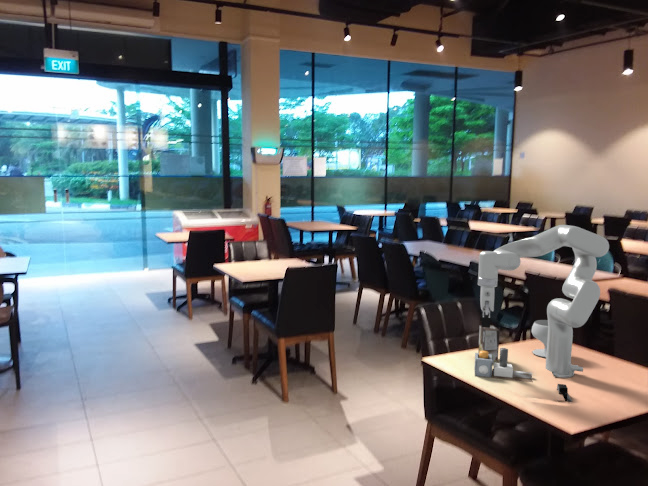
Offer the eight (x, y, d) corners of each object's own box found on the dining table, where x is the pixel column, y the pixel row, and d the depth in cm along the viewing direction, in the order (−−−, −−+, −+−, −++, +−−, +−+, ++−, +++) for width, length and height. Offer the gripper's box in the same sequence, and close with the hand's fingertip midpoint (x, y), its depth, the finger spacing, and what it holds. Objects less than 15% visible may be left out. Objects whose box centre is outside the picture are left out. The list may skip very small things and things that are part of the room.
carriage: (511, 372, 213) (512, 347, 212) (512, 378, 207) (514, 352, 206) (493, 370, 215) (494, 346, 213) (494, 376, 209) (495, 350, 208)
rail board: (529, 377, 213) (530, 369, 212) (532, 385, 204) (533, 377, 204) (474, 371, 218) (474, 363, 218) (474, 379, 210) (475, 371, 209)
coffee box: (498, 366, 225) (500, 330, 223) (483, 366, 225) (485, 330, 223) (491, 359, 234) (493, 324, 232) (477, 359, 234) (479, 324, 232)
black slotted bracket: (575, 405, 188) (576, 393, 187) (553, 403, 190) (554, 391, 189) (568, 392, 200) (569, 380, 199) (548, 390, 201) (548, 378, 201)
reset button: (487, 357, 214) (488, 350, 213) (488, 360, 210) (488, 353, 210) (478, 357, 214) (479, 350, 214) (479, 359, 211) (479, 352, 211)
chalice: (562, 352, 245) (564, 321, 244) (562, 361, 233) (564, 328, 231) (531, 348, 251) (533, 317, 249) (529, 356, 239) (531, 324, 237)
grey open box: (490, 370, 216) (491, 354, 215) (491, 377, 208) (492, 360, 207) (474, 368, 218) (475, 352, 217) (474, 375, 210) (475, 359, 209)
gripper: (498, 286, 199) (496, 330, 201) (496, 278, 216) (493, 319, 218) (478, 285, 201) (476, 329, 203) (477, 277, 218) (475, 318, 220)
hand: (485, 324), depth 211 cm, fingers open, 8 cm apart
